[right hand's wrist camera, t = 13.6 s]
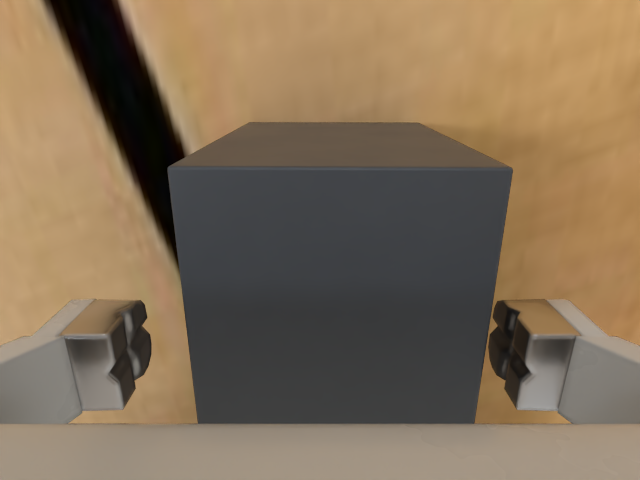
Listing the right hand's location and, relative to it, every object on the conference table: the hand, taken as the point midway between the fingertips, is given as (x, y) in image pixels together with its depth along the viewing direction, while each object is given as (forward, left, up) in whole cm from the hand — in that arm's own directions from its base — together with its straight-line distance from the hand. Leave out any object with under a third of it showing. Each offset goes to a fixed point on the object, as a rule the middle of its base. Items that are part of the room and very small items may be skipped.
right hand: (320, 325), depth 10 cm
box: (+6, +6, -8) cm, 12 cm away
